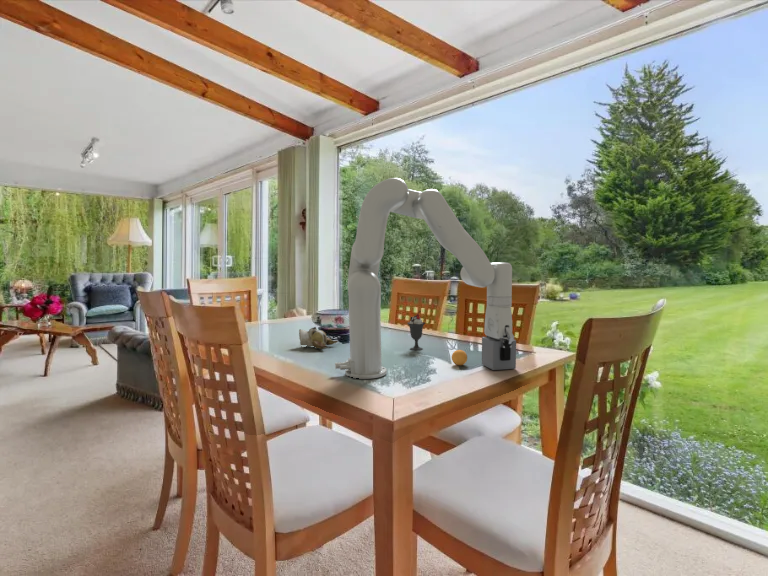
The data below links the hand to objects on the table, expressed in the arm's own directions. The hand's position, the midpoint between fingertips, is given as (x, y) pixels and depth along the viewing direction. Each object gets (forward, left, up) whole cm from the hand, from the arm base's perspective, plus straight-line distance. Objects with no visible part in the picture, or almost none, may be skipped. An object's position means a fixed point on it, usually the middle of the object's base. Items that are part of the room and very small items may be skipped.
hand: (498, 356), depth 137 cm
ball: (-11, +6, -1) cm, 12 cm away
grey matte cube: (0, 0, -3) cm, 3 cm away
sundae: (-17, +33, -4) cm, 37 cm away
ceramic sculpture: (-54, +48, -4) cm, 72 cm away
